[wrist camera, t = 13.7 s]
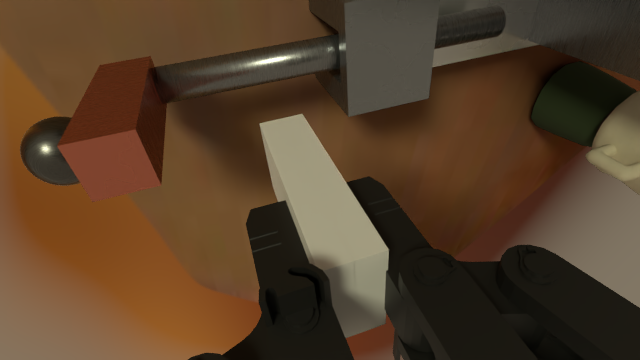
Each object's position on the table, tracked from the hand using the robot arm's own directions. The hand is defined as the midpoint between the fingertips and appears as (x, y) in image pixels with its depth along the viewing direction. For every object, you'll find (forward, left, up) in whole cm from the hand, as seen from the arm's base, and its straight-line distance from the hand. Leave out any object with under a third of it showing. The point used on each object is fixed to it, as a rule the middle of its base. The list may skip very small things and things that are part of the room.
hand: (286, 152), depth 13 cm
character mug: (+9, +27, -12) cm, 31 cm away
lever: (0, +3, -9) cm, 10 cm away
